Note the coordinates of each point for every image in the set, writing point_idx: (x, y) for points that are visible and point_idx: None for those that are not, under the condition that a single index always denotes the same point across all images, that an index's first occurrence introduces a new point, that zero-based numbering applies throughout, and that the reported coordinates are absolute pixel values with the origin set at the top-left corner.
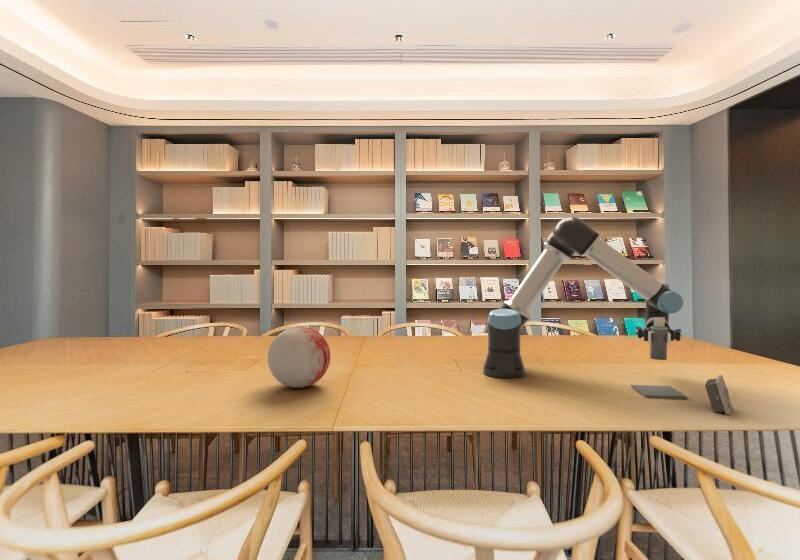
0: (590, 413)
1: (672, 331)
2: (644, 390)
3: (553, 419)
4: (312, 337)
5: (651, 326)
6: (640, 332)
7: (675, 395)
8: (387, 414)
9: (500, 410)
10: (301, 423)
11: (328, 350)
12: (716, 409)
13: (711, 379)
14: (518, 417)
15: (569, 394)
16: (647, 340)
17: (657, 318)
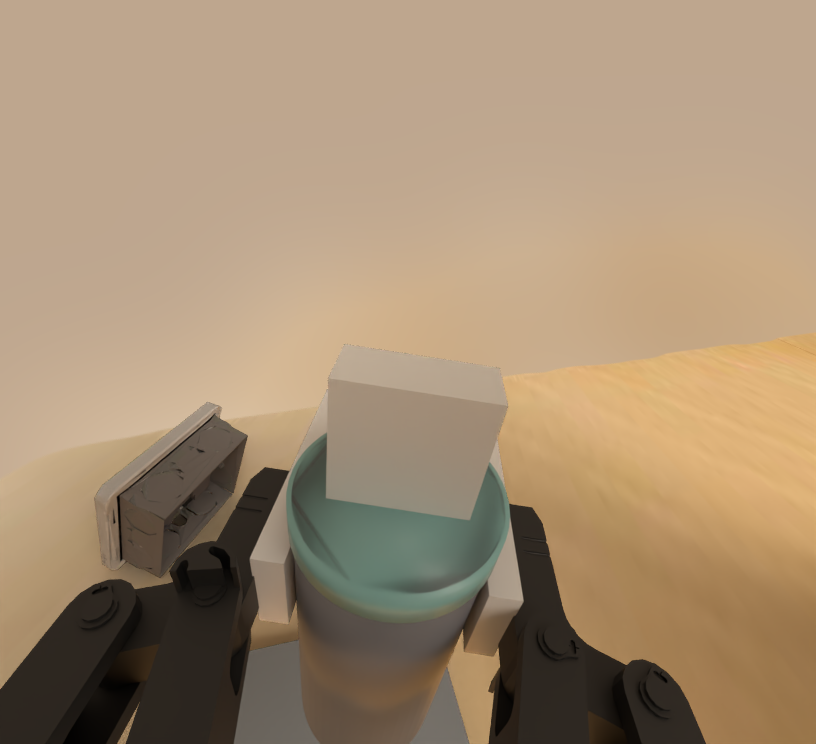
0: (546, 421)
1: (210, 551)
2: (429, 719)
3: (588, 385)
4: None
5: (496, 505)
6: (621, 665)
7: (288, 654)
8: (788, 367)
9: (693, 405)
10: (805, 338)
11: None
12: (224, 483)
13: (158, 503)
14: (640, 384)
15: (682, 565)
16: (495, 675)
17: (445, 371)
